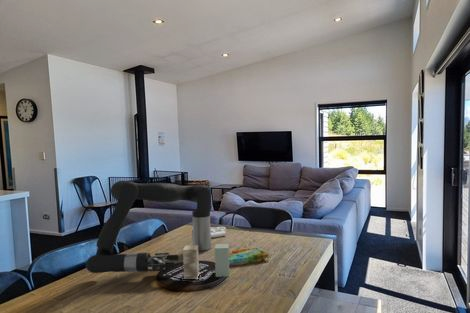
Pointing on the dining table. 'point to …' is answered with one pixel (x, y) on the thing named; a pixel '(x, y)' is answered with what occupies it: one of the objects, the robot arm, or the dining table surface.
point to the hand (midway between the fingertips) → (176, 260)
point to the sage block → (222, 260)
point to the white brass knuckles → (218, 231)
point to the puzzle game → (246, 256)
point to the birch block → (191, 262)
